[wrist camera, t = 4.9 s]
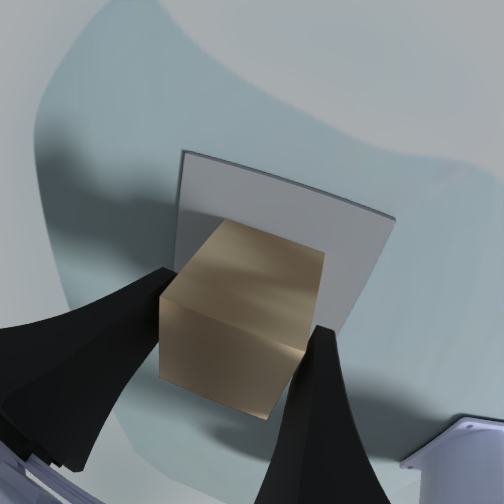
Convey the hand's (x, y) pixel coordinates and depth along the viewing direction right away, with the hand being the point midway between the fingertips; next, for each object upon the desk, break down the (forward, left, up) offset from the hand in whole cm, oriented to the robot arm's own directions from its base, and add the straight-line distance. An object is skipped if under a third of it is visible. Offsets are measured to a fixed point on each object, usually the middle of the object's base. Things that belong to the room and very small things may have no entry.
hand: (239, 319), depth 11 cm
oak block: (0, 0, -3) cm, 3 cm away
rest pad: (0, 0, -3) cm, 3 cm away
